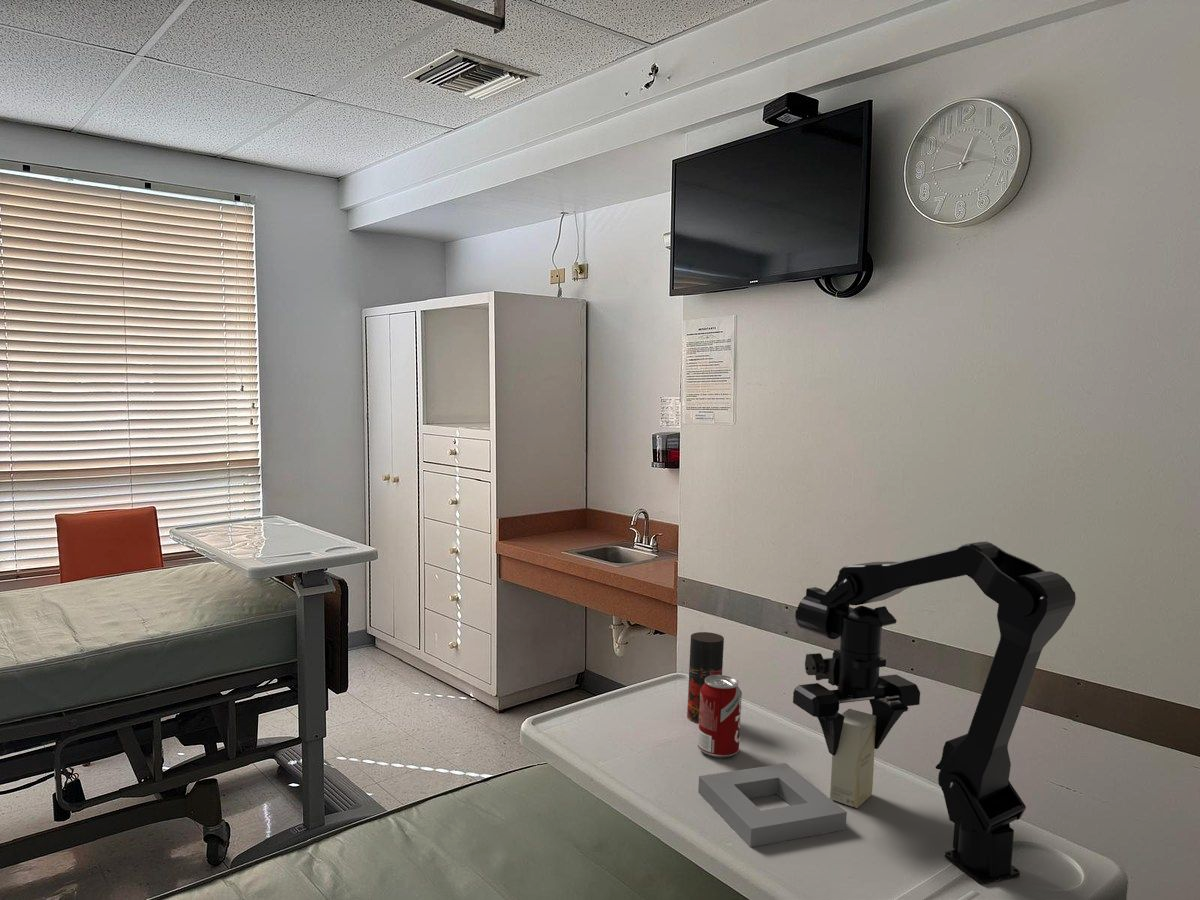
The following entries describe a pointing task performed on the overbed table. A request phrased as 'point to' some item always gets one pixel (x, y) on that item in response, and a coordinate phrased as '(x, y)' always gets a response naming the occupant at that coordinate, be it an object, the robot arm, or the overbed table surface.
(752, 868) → the overbed table surface
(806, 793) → the socket holder
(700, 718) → the soda can
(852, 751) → the skincare box
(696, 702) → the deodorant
